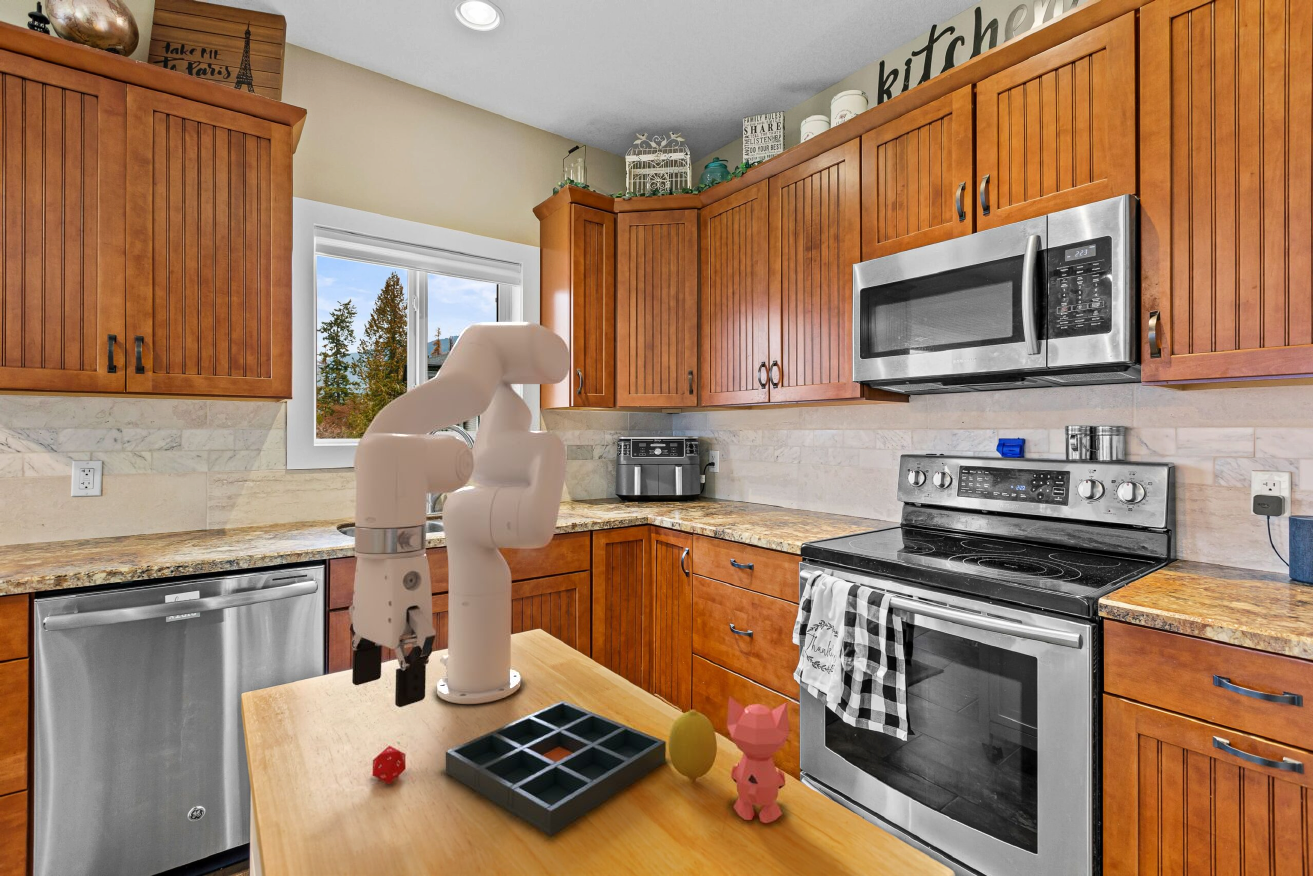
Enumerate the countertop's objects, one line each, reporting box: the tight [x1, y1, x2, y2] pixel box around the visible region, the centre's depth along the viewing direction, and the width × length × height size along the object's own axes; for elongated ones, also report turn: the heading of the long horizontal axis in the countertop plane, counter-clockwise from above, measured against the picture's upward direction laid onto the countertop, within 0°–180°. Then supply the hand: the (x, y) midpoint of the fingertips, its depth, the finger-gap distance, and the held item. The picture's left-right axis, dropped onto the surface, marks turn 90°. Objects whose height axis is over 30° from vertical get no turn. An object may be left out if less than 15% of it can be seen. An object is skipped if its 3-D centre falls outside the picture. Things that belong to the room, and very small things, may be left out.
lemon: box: [668, 709, 718, 782], centre depth 71 cm, size 6×6×8 cm
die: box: [371, 745, 407, 785], centre depth 70 cm, size 4×4×4 cm
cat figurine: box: [726, 695, 792, 824], centre depth 64 cm, size 7×7×12 cm
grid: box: [444, 700, 667, 837], centre depth 73 cm, size 18×18×2 cm
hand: (387, 691), depth 70 cm, fingers open, 9 cm apart
